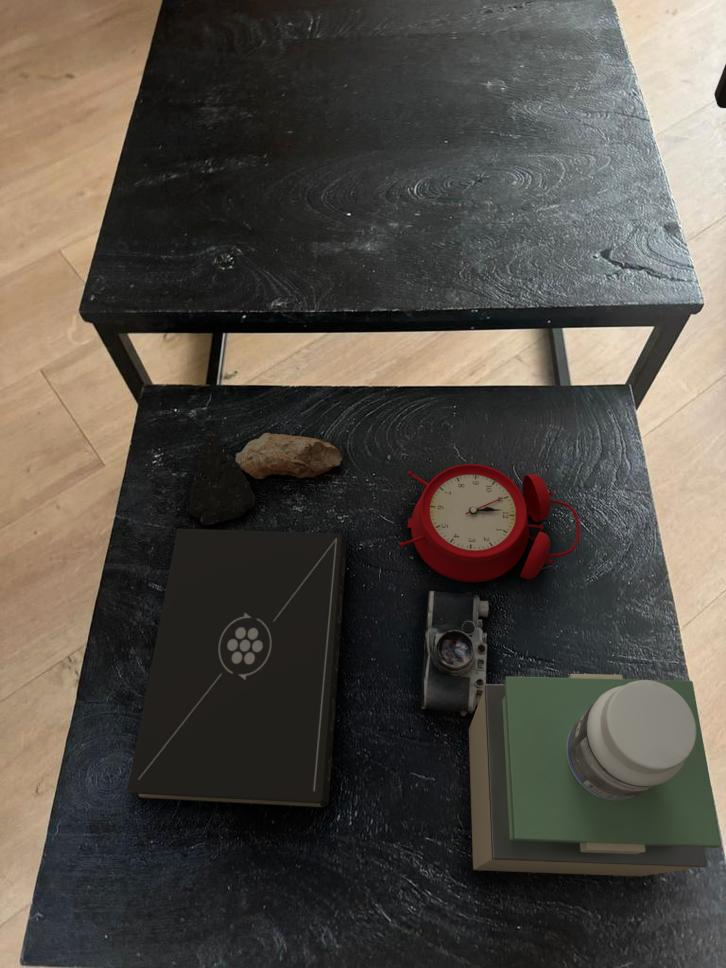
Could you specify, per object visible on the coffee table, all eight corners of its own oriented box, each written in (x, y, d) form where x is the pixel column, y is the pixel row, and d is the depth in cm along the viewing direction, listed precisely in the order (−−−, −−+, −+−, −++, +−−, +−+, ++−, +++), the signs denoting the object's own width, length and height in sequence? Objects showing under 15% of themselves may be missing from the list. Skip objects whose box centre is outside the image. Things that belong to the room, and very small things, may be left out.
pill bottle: (612, 695, 43) (655, 651, 36) (671, 768, 41) (729, 738, 34) (546, 742, 42) (577, 707, 35) (604, 820, 40) (649, 800, 33)
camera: (487, 598, 65) (493, 580, 62) (482, 721, 61) (487, 709, 57) (428, 592, 66) (430, 574, 62) (418, 713, 61) (419, 701, 57)
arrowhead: (188, 528, 69) (178, 436, 74) (191, 531, 70) (180, 439, 75) (256, 511, 69) (242, 420, 74) (258, 515, 70) (243, 424, 75)
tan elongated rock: (340, 491, 73) (346, 440, 74) (335, 483, 69) (342, 430, 70) (234, 480, 74) (242, 430, 75) (225, 472, 70) (233, 419, 71)
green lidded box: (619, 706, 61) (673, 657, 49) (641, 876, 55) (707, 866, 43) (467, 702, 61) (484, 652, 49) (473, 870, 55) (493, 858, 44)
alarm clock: (404, 453, 69) (577, 447, 64) (418, 487, 74) (579, 484, 69) (392, 559, 64) (578, 560, 59) (408, 588, 69) (581, 590, 64)
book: (329, 808, 58) (326, 803, 55) (138, 798, 59) (126, 792, 56) (347, 547, 68) (345, 533, 66) (185, 542, 69) (176, 528, 67)
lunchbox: (667, 693, 48) (691, 674, 44) (694, 859, 43) (723, 854, 39) (496, 689, 48) (505, 670, 44) (505, 852, 44) (515, 846, 40)
